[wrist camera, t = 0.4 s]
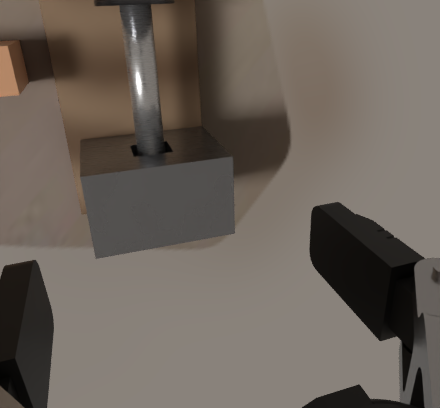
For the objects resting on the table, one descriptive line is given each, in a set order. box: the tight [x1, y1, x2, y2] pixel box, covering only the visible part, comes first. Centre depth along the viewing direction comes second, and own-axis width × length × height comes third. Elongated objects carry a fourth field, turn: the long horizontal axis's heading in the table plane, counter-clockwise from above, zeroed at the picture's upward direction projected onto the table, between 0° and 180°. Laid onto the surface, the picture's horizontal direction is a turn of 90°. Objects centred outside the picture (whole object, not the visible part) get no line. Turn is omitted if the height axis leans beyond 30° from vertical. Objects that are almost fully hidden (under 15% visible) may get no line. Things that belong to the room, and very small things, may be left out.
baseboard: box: [39, 0, 202, 214], centre depth 32 cm, size 24×11×2 cm, turn 2°
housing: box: [80, 126, 235, 258], centre depth 32 cm, size 6×10×8 cm, turn 92°
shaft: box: [94, 0, 174, 156], centre depth 28 cm, size 12×5×5 cm, turn 2°
